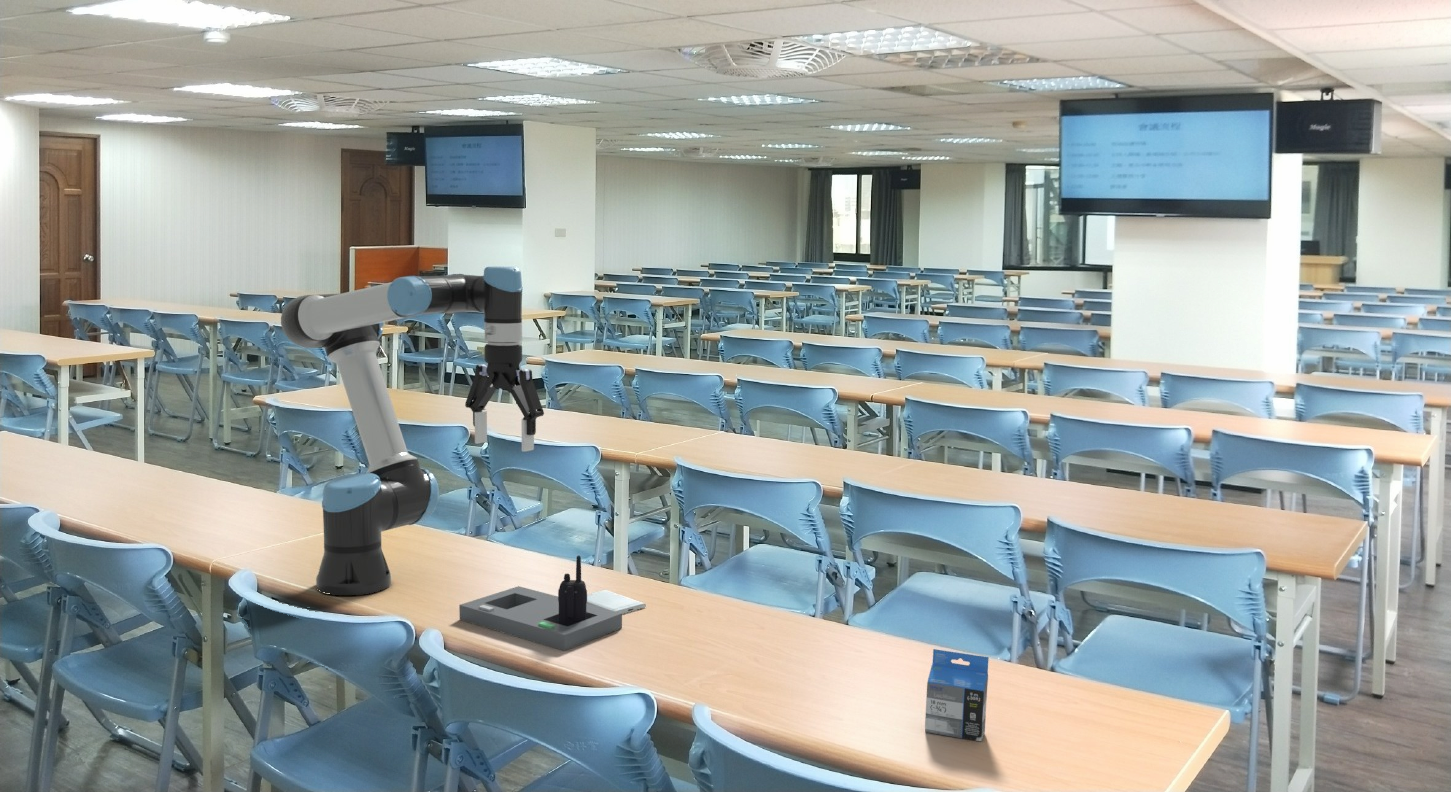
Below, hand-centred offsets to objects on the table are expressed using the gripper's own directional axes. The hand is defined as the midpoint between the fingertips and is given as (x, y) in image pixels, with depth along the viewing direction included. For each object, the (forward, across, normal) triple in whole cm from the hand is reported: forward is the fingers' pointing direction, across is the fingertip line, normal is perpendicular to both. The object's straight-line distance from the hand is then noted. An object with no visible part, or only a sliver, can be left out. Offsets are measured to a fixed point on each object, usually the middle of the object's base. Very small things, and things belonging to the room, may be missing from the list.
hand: (504, 446), depth 245 cm
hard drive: (+32, +21, +10) cm, 40 cm away
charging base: (+32, +18, -8) cm, 37 cm away
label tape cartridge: (+32, +104, -5) cm, 109 cm away
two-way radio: (+32, +26, -8) cm, 42 cm away
